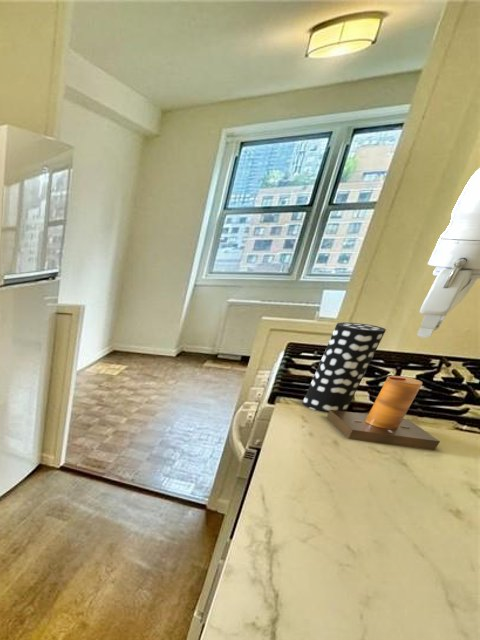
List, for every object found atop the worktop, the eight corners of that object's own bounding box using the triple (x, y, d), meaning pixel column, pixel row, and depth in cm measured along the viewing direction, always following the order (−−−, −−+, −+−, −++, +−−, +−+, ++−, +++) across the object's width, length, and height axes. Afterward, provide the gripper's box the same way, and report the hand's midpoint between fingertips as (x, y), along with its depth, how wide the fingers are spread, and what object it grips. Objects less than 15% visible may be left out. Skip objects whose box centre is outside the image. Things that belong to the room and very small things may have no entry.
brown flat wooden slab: (402, 429, 107) (408, 418, 106) (433, 452, 97) (440, 440, 96) (325, 419, 112) (330, 408, 111) (347, 440, 102) (352, 429, 101)
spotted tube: (316, 400, 123) (352, 321, 113) (353, 413, 116) (395, 329, 106) (293, 404, 120) (328, 323, 111) (329, 417, 113) (369, 332, 104)
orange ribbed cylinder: (390, 421, 105) (415, 376, 100) (403, 430, 101) (429, 384, 96) (360, 417, 107) (383, 373, 102) (371, 426, 102) (395, 380, 98)
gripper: (486, 262, 79) (442, 345, 86) (497, 254, 91) (457, 328, 97) (432, 259, 84) (394, 338, 90) (448, 252, 95) (413, 322, 101)
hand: (427, 333), depth 94 cm, fingers open, 8 cm apart
